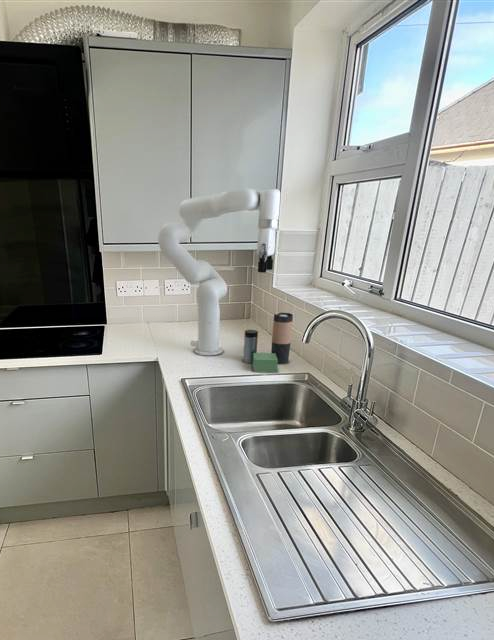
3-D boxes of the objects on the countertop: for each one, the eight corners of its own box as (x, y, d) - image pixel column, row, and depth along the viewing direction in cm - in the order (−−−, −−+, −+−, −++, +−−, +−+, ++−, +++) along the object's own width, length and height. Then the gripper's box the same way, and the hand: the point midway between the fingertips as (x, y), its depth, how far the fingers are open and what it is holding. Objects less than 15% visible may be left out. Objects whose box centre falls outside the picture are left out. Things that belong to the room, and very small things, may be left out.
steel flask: (241, 362, 171) (243, 332, 166) (245, 358, 175) (247, 329, 170) (254, 363, 168) (255, 333, 164) (257, 360, 173) (259, 330, 168)
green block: (253, 371, 160) (254, 359, 158) (252, 364, 168) (253, 352, 166) (276, 372, 159) (277, 360, 157) (274, 364, 167) (275, 353, 166)
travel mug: (288, 364, 167) (293, 317, 160) (270, 363, 169) (273, 316, 161) (288, 358, 174) (292, 312, 167) (270, 357, 176) (274, 312, 168)
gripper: (264, 224, 163) (261, 268, 170) (252, 225, 149) (249, 273, 155) (283, 224, 160) (279, 269, 167) (272, 225, 146) (268, 274, 152)
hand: (265, 270), depth 161 cm, fingers open, 9 cm apart
